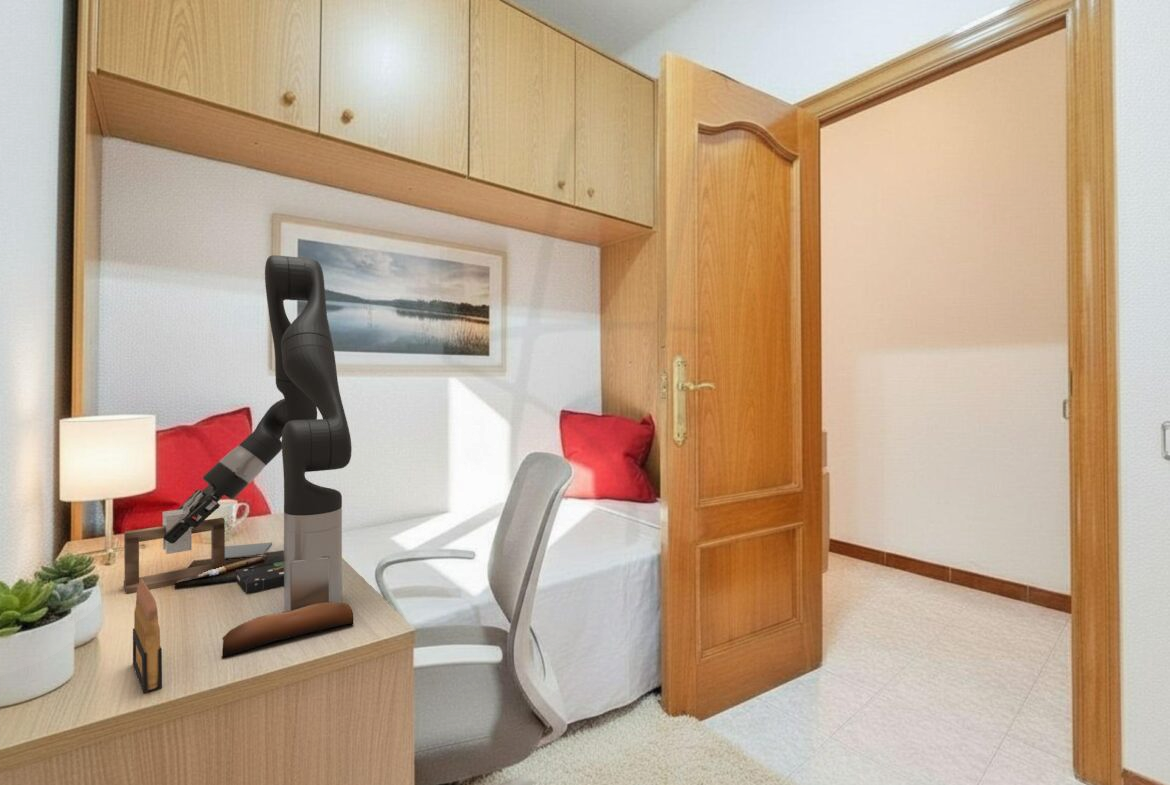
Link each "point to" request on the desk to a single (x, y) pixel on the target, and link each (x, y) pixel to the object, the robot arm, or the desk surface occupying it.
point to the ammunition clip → (147, 640)
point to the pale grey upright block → (169, 522)
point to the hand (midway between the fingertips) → (165, 537)
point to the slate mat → (246, 550)
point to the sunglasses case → (285, 626)
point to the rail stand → (171, 577)
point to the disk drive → (261, 577)
